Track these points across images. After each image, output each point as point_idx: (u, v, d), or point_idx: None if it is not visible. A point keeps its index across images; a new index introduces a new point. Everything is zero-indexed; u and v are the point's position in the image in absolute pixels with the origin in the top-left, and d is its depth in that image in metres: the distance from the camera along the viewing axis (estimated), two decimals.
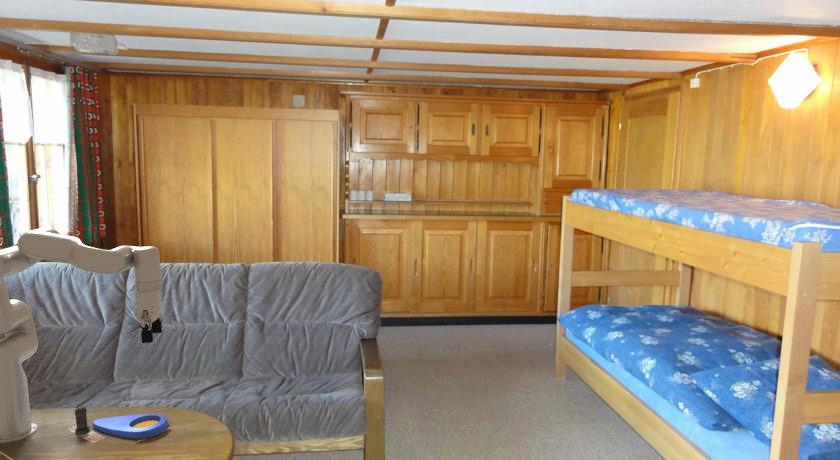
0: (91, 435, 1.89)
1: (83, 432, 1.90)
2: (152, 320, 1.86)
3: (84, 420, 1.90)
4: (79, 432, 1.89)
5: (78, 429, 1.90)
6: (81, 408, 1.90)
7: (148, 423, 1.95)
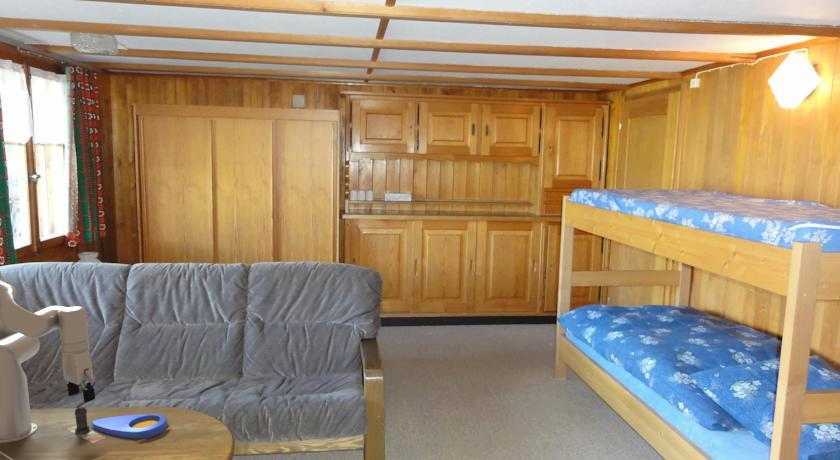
0: (91, 435, 1.89)
1: (83, 432, 1.90)
2: None
3: (84, 420, 1.90)
4: (79, 432, 1.89)
5: (78, 429, 1.90)
6: (81, 408, 1.90)
7: (147, 423, 1.95)
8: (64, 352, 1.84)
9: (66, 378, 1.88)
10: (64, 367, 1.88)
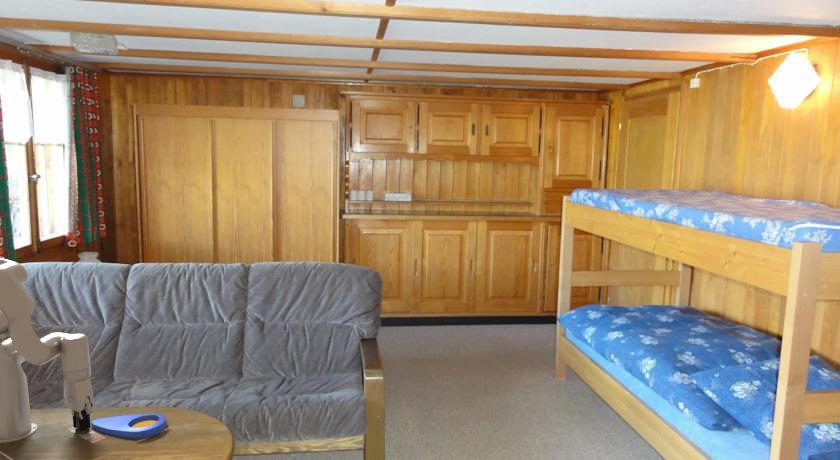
0: (91, 435, 1.89)
1: (83, 432, 1.90)
2: None
3: None
4: (79, 432, 1.89)
5: (78, 429, 1.90)
6: None
7: (147, 423, 1.95)
8: (66, 379, 1.85)
9: (67, 405, 1.89)
10: (65, 394, 1.89)
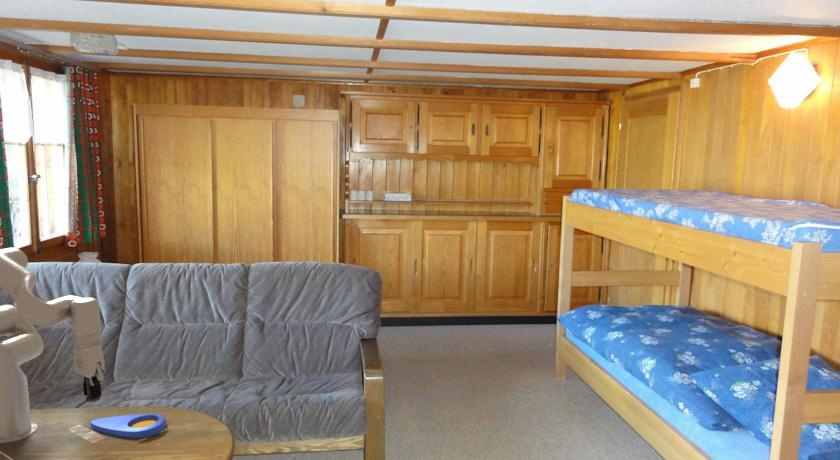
0: (91, 435, 1.89)
1: (94, 399, 1.83)
2: (104, 371, 1.83)
3: None
4: (90, 399, 1.83)
5: (89, 396, 1.83)
6: None
7: (146, 423, 1.95)
8: (76, 344, 1.79)
9: (77, 371, 1.83)
10: (75, 360, 1.82)
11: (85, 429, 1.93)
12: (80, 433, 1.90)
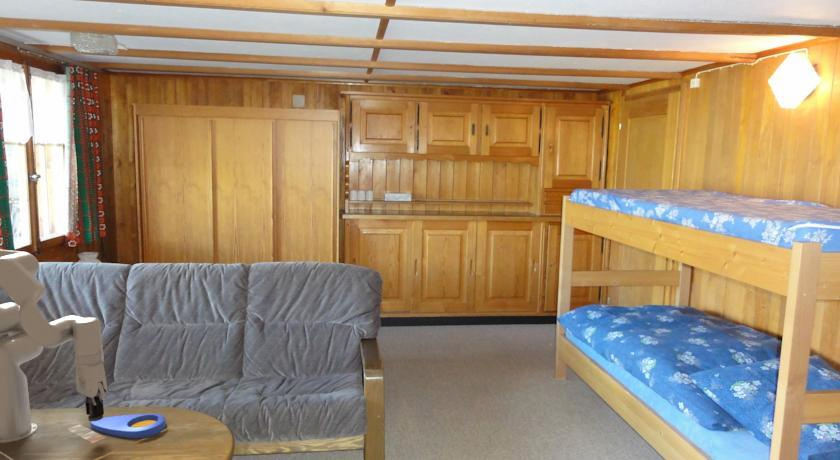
0: (91, 435, 1.89)
1: (96, 419, 1.84)
2: (106, 390, 1.83)
3: None
4: (92, 419, 1.84)
5: (91, 416, 1.84)
6: None
7: (146, 423, 1.95)
8: (78, 364, 1.80)
9: (79, 391, 1.83)
10: (77, 379, 1.83)
11: (85, 429, 1.93)
12: (80, 433, 1.90)
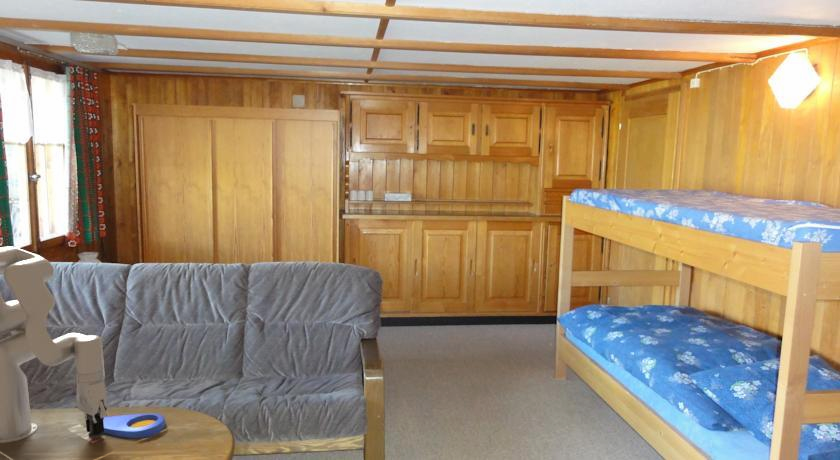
0: None
1: (97, 436, 1.85)
2: None
3: None
4: (93, 436, 1.85)
5: (92, 433, 1.85)
6: None
7: (145, 423, 1.95)
8: (79, 382, 1.81)
9: (80, 408, 1.84)
10: (78, 397, 1.84)
11: (85, 429, 1.93)
12: (80, 433, 1.90)
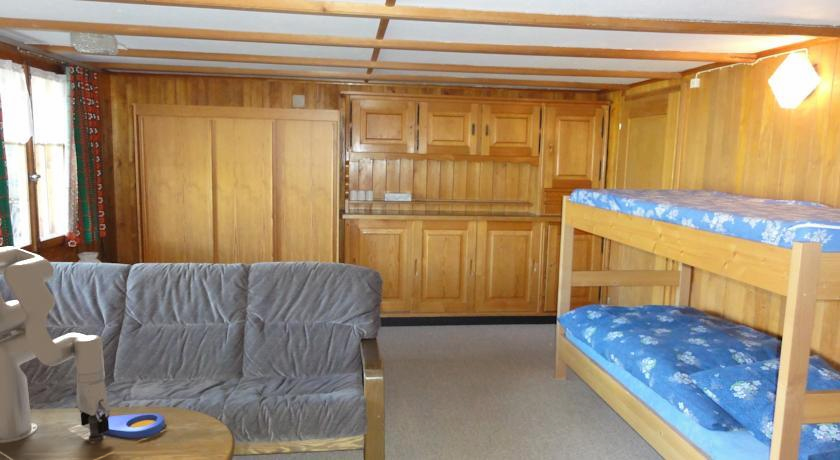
0: None
1: (97, 439, 1.85)
2: None
3: None
4: (93, 439, 1.85)
5: (92, 436, 1.85)
6: (95, 414, 1.85)
7: (145, 423, 1.95)
8: (79, 382, 1.81)
9: (80, 408, 1.84)
10: (78, 397, 1.84)
11: (85, 429, 1.93)
12: (80, 433, 1.90)
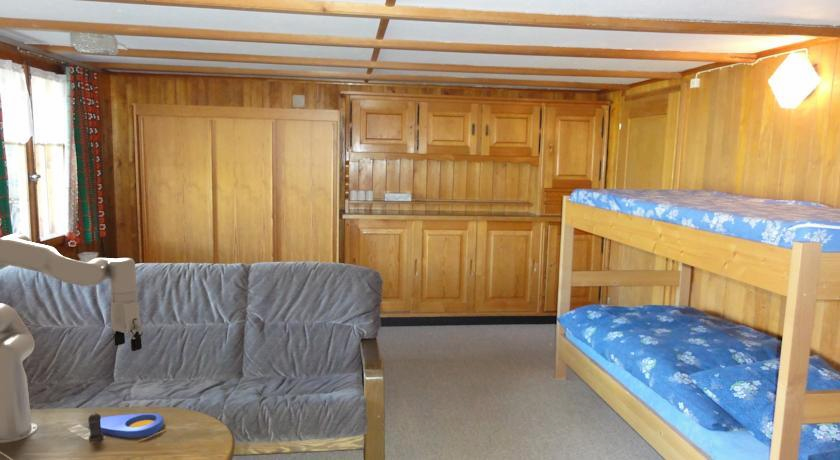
0: None
1: (97, 439, 1.85)
2: None
3: (98, 427, 1.85)
4: (93, 439, 1.85)
5: (92, 436, 1.85)
6: (95, 415, 1.85)
7: (144, 422, 1.95)
8: (114, 301, 1.89)
9: (114, 327, 1.93)
10: (112, 317, 1.93)
11: (85, 429, 1.93)
12: (80, 433, 1.90)
